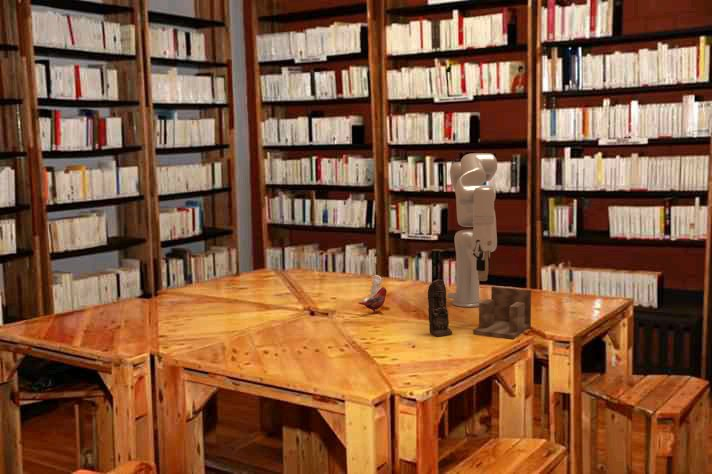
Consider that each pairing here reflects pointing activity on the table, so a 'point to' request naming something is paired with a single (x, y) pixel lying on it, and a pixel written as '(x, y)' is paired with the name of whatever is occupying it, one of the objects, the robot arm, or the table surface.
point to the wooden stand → (505, 313)
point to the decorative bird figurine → (375, 300)
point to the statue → (438, 309)
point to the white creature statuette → (374, 286)
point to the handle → (484, 274)
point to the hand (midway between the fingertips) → (483, 269)
